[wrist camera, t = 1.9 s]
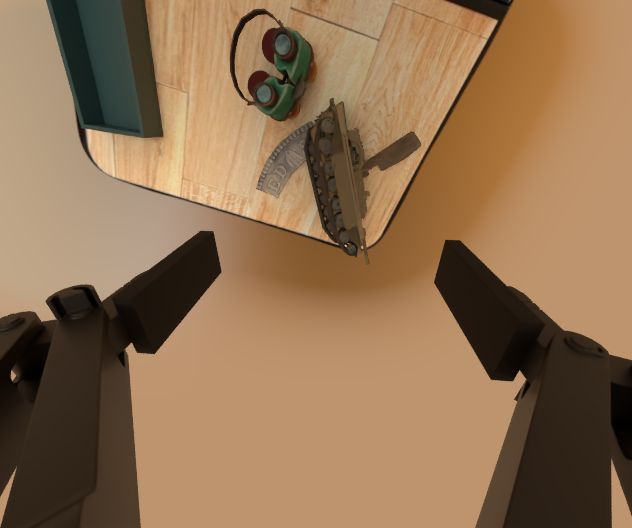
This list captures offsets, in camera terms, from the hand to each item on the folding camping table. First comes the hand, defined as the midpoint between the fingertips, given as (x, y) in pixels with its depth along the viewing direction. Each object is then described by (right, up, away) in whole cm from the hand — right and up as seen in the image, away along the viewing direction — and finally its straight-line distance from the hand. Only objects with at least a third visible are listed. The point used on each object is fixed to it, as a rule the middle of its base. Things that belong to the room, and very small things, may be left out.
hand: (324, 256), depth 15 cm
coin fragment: (-3, +13, +23) cm, 27 cm away
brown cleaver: (+10, +12, +22) cm, 27 cm away
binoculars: (-5, +24, +18) cm, 30 cm away
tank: (0, +8, +19) cm, 21 cm away
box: (-26, +28, +18) cm, 42 cm away
